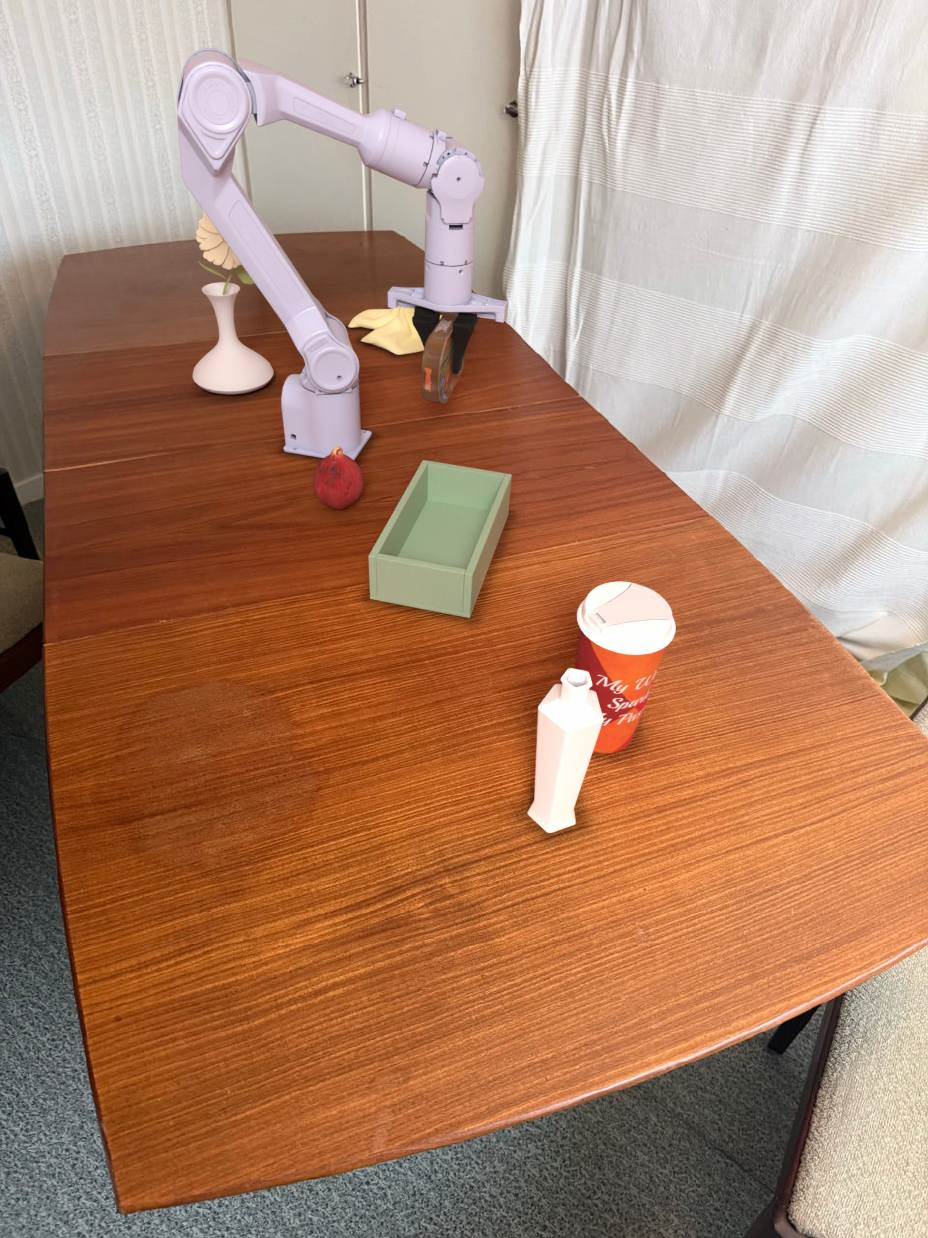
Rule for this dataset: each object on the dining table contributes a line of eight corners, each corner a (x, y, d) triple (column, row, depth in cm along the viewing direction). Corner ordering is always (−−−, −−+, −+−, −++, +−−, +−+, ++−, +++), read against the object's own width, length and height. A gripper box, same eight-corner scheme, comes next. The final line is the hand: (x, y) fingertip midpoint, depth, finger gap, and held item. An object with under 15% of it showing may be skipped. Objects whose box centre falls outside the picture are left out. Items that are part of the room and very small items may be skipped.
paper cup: (589, 775, 69) (617, 653, 60) (541, 713, 74) (560, 592, 65) (664, 744, 72) (701, 623, 63) (613, 687, 77) (640, 567, 68)
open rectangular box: (369, 599, 85) (368, 556, 82) (422, 499, 100) (422, 459, 96) (469, 618, 84) (472, 575, 80) (508, 514, 98) (512, 474, 95)
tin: (438, 415, 102) (445, 350, 96) (414, 410, 102) (419, 344, 97) (466, 366, 113) (474, 304, 107) (444, 361, 113) (450, 300, 108)
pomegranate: (356, 526, 95) (353, 464, 90) (308, 518, 96) (302, 457, 91) (370, 499, 99) (368, 439, 94) (324, 492, 100) (319, 432, 95)
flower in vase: (178, 392, 118) (140, 202, 102) (224, 362, 126) (196, 181, 110) (256, 411, 115) (231, 218, 99) (299, 379, 123) (282, 196, 107)
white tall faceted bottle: (519, 790, 68) (537, 656, 58) (571, 788, 68) (598, 654, 58) (526, 838, 64) (547, 704, 54) (582, 835, 65) (613, 702, 55)
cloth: (485, 347, 135) (487, 309, 131) (377, 362, 129) (376, 323, 125) (433, 299, 150) (434, 264, 146) (334, 311, 144) (332, 274, 140)
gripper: (515, 255, 99) (506, 364, 108) (399, 241, 101) (399, 349, 110) (504, 274, 94) (496, 386, 103) (381, 258, 96) (383, 370, 105)
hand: (445, 369), depth 106 cm, fingers closed on tin, 2 cm apart
